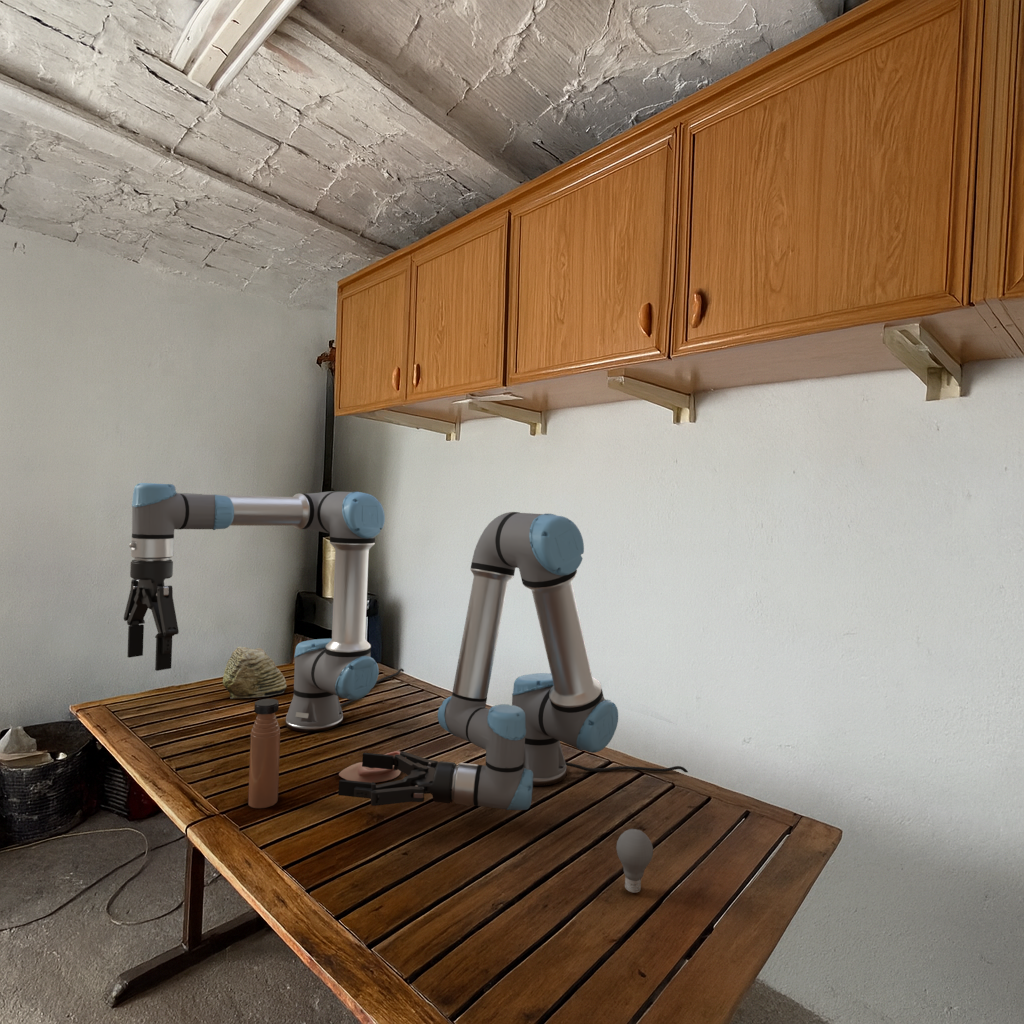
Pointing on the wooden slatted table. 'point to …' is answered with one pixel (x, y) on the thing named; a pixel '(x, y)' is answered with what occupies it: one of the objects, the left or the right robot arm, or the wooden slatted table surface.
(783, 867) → the wooden slatted table surface
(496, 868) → the wooden slatted table surface
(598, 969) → the wooden slatted table surface
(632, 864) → the light bulb
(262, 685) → the fossil
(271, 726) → the bottle
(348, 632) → the left robot arm
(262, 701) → the cap
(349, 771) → the anatomical model
